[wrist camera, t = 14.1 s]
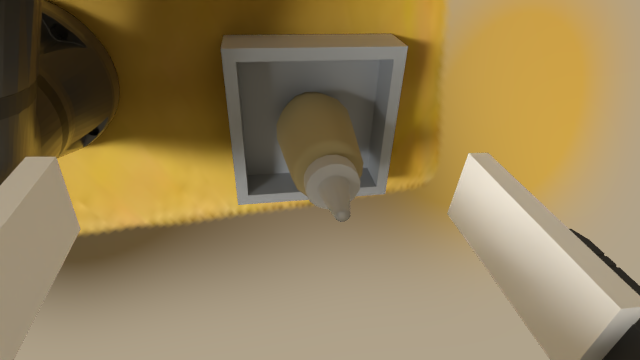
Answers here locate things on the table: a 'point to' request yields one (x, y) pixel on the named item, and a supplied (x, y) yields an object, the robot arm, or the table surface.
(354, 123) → the bin
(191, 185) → the table surface
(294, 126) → the squeeze bottle
